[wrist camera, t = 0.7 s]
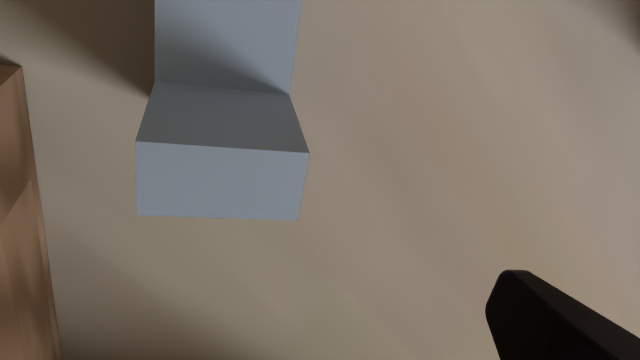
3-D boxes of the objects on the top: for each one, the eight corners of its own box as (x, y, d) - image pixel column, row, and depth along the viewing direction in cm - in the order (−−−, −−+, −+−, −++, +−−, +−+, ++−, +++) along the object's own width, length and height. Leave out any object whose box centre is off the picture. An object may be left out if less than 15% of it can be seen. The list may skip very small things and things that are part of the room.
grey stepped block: (272, 115, 19) (298, 220, 13) (163, 105, 18) (136, 214, 12) (293, -55, 16) (340, -22, 10) (165, -77, 15) (131, -55, 9)
